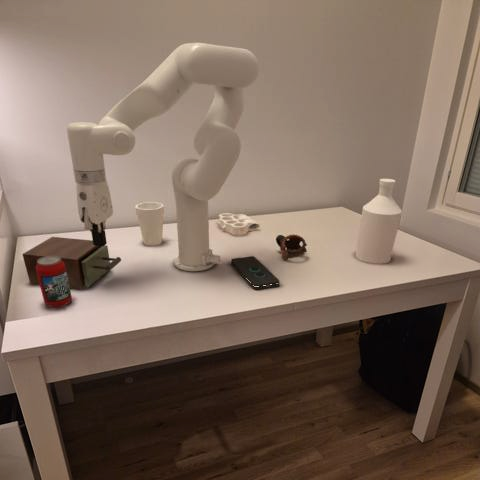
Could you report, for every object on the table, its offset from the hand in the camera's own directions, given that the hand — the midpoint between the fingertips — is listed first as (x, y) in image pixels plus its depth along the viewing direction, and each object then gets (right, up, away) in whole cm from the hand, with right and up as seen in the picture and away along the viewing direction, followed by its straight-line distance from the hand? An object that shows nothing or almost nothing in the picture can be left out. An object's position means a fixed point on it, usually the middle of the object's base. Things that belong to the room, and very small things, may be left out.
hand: (100, 244), depth 116 cm
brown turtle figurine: (+55, +1, +25) cm, 61 cm away
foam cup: (+8, +6, +33) cm, 34 cm away
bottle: (+83, 0, +25) cm, 87 cm away
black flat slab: (+43, -7, +11) cm, 45 cm away
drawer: (-6, -8, +6) cm, 12 cm away
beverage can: (-9, -16, -6) cm, 20 cm away
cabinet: (-12, -8, +8) cm, 16 cm away
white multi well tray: (+37, +15, +48) cm, 63 cm away
